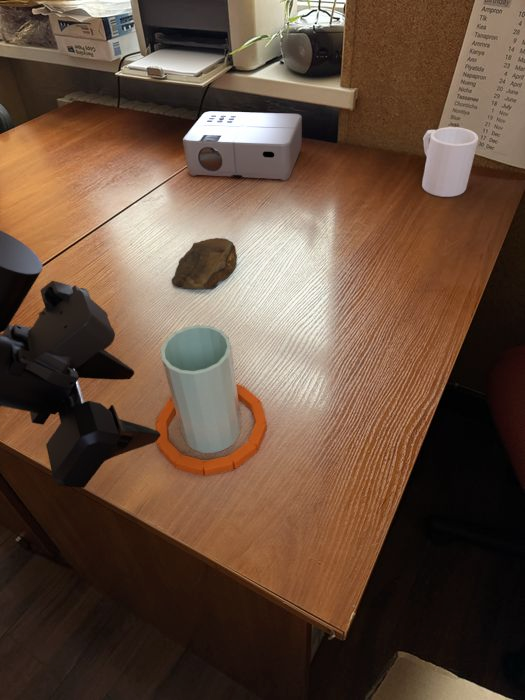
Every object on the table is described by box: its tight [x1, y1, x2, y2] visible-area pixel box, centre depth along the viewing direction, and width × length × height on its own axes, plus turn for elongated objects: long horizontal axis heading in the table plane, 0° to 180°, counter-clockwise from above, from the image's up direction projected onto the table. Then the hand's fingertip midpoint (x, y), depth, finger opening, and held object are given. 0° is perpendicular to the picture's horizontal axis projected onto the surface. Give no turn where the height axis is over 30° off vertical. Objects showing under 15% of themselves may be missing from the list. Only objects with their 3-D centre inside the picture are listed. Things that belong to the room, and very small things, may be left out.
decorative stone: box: [171, 237, 238, 290], centre depth 79 cm, size 10×9×4 cm
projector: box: [182, 111, 303, 182], centre depth 106 cm, size 17×22×8 cm
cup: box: [160, 324, 242, 454], centre depth 54 cm, size 7×7×13 cm
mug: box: [421, 126, 479, 198], centre depth 95 cm, size 8×12×10 cm
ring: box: [155, 383, 268, 477], centre depth 58 cm, size 12×12×1 cm
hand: (144, 404), depth 51 cm, fingers open, 9 cm apart
